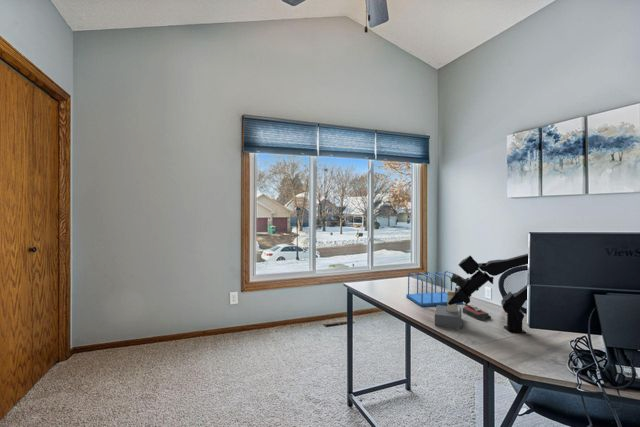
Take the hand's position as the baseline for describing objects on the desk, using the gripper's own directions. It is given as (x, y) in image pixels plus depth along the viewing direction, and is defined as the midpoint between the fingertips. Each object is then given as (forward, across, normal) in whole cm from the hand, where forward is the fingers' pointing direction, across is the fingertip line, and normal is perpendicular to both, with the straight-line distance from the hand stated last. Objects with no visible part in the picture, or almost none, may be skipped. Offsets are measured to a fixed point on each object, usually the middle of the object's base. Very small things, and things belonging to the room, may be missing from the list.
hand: (448, 303), depth 150 cm
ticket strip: (+4, 0, +6) cm, 8 cm away
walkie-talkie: (-1, -17, +14) cm, 22 cm away
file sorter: (+12, -31, 0) cm, 34 cm away
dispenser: (+6, 0, +6) cm, 8 cm away
